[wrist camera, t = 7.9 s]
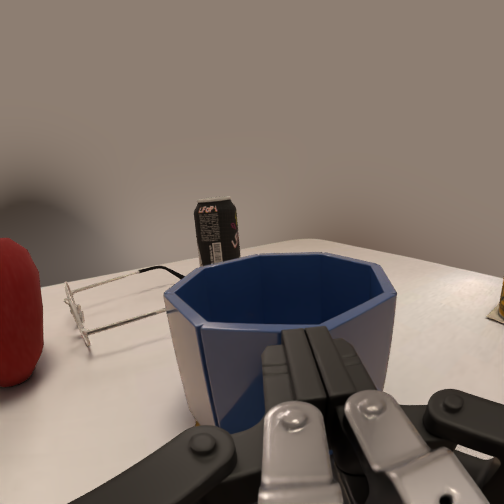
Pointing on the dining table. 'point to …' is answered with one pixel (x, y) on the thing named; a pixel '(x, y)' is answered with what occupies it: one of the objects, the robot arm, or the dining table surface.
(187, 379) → the glazed bowl
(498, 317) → the condiment
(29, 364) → the apple
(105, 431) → the dining table surface
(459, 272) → the dining table surface
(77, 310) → the eyeglasses
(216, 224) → the beverage can
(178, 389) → the dining table surface
